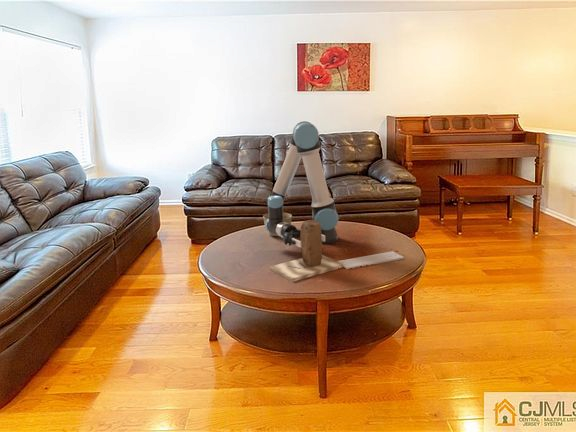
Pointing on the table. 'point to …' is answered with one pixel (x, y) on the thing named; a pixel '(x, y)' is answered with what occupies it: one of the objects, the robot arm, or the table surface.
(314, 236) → the block
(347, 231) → the table surface
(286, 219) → the planter bowl
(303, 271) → the board
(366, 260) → the baseboard
